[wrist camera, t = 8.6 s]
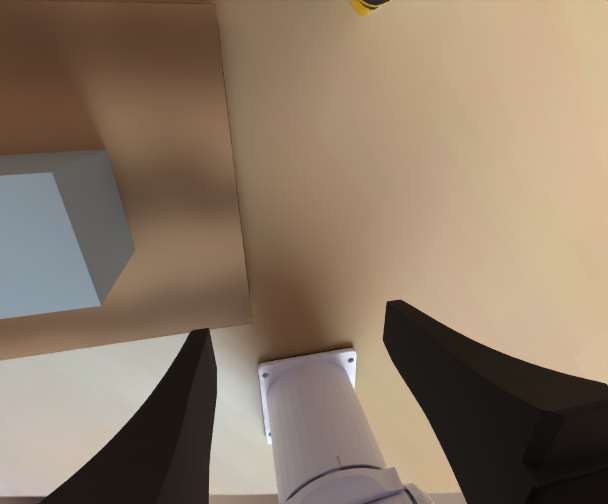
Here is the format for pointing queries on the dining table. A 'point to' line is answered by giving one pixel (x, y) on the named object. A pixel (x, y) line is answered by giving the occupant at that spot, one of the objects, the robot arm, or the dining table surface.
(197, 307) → the walnut plinth
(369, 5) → the medicine bottle
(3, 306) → the slate block
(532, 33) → the dining table surface
